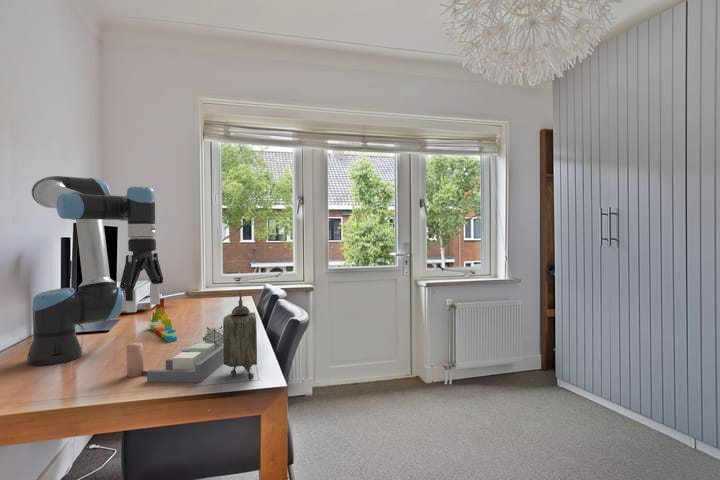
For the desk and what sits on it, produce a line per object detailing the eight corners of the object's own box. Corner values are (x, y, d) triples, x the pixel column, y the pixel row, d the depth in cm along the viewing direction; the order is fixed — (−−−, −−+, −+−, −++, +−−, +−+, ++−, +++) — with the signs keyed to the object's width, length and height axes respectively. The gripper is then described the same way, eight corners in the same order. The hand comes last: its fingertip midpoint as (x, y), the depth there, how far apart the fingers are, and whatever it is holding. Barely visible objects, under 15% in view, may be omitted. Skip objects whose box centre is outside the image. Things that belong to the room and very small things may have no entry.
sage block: (189, 367, 134) (188, 348, 134) (197, 361, 140) (197, 343, 140) (207, 367, 134) (207, 348, 133) (215, 361, 140) (214, 343, 139)
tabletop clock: (257, 380, 121) (256, 293, 120) (223, 384, 118) (222, 294, 118) (254, 365, 134) (253, 286, 134) (225, 368, 132) (223, 288, 131)
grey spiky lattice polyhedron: (217, 360, 153) (217, 342, 147) (197, 350, 155) (196, 332, 149) (232, 342, 160) (232, 325, 154) (212, 334, 162) (212, 316, 156)
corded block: (122, 378, 124) (121, 347, 124) (134, 371, 130) (133, 342, 130) (193, 378, 123) (192, 347, 123) (201, 371, 129) (201, 342, 129)
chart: (177, 341, 167) (176, 303, 167) (168, 342, 165) (168, 304, 165) (158, 328, 191) (157, 294, 190) (150, 329, 189) (149, 295, 188)
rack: (147, 381, 121) (146, 364, 121) (183, 358, 143) (183, 343, 143) (200, 382, 120) (200, 364, 120) (229, 358, 142) (228, 343, 142)
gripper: (131, 238, 117) (133, 315, 117) (173, 237, 142) (174, 301, 142) (104, 238, 117) (106, 315, 117) (151, 238, 142) (152, 301, 142)
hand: (143, 308), depth 129 cm, fingers open, 13 cm apart
